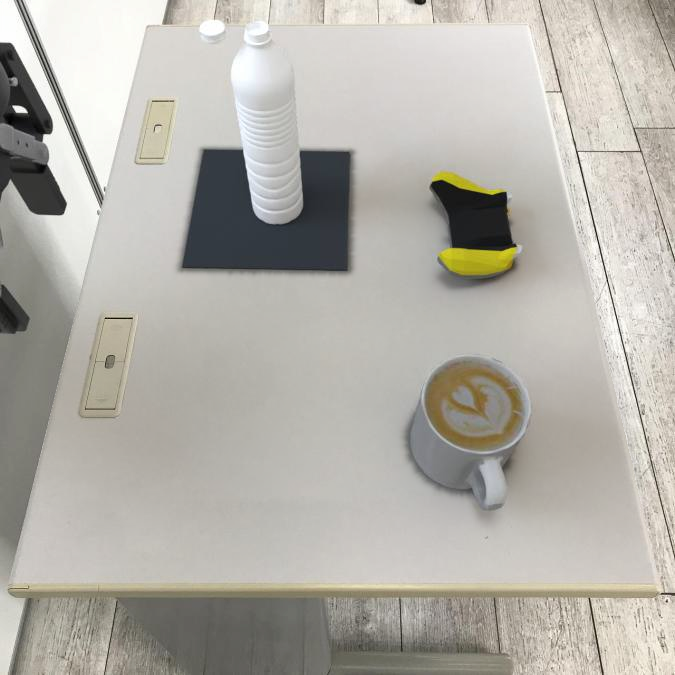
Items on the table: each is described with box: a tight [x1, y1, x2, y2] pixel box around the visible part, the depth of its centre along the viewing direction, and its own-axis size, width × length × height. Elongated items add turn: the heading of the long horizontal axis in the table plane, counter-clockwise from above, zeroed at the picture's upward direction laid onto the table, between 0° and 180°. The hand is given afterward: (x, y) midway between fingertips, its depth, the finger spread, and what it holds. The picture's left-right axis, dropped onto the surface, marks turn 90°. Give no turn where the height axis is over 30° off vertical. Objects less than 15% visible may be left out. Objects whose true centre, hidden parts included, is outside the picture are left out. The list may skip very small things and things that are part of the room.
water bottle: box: [198, 19, 303, 224], centre depth 71 cm, size 9×6×25 cm
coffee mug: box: [409, 353, 532, 512], centre depth 61 cm, size 13×10×10 cm
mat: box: [181, 148, 350, 272], centre depth 82 cm, size 20×20×1 cm
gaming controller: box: [428, 170, 523, 280], centre depth 77 cm, size 15×6×10 cm
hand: (32, 265), depth 38 cm, fingers open, 8 cm apart
